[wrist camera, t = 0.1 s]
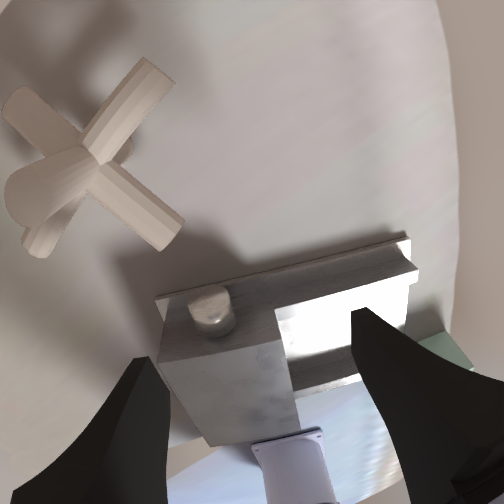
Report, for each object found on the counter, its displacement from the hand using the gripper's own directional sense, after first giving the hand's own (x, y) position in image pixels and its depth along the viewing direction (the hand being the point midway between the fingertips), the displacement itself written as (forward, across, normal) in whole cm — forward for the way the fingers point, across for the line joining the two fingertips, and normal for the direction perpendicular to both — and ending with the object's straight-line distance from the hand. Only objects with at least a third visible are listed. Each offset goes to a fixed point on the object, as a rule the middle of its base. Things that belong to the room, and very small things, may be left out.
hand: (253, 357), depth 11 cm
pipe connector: (+10, +5, -7) cm, 14 cm away
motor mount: (+10, -3, +9) cm, 14 cm away
